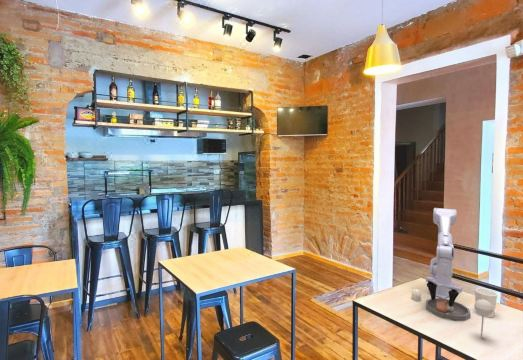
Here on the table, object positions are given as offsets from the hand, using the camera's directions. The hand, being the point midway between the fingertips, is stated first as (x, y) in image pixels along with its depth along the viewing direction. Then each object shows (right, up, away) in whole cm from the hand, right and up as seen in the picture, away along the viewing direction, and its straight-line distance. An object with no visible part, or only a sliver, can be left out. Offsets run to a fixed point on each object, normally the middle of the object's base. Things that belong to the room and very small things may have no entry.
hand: (441, 302), depth 139 cm
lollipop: (+5, -7, -18) cm, 20 cm away
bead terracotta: (0, -5, 0) cm, 5 cm away
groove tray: (+4, -5, +3) cm, 7 cm away
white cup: (+20, -6, +1) cm, 21 cm away
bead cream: (-4, -4, +14) cm, 15 cm away
